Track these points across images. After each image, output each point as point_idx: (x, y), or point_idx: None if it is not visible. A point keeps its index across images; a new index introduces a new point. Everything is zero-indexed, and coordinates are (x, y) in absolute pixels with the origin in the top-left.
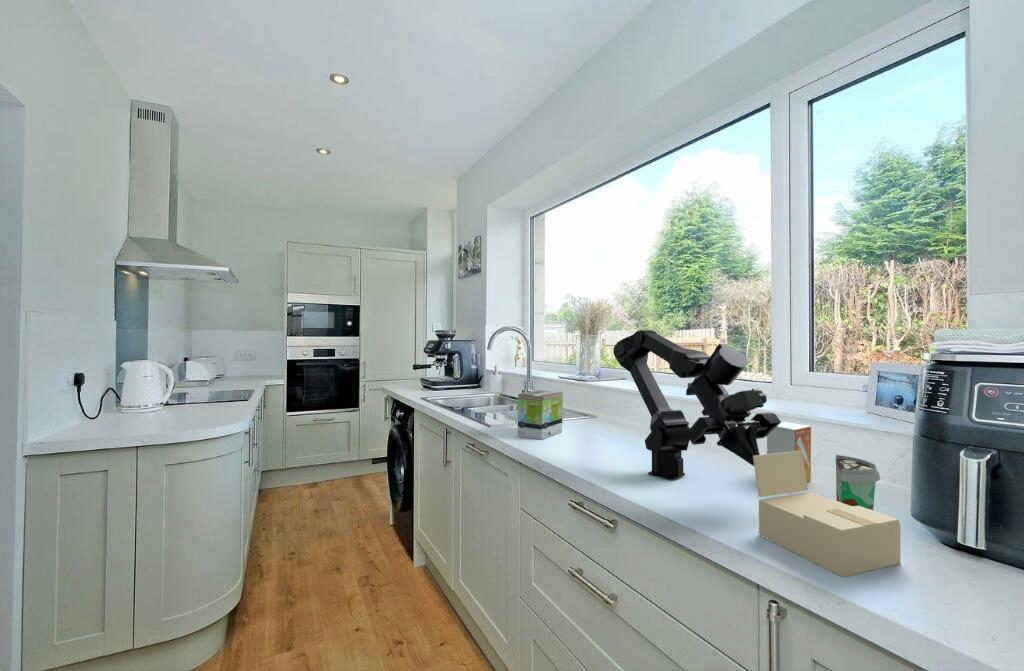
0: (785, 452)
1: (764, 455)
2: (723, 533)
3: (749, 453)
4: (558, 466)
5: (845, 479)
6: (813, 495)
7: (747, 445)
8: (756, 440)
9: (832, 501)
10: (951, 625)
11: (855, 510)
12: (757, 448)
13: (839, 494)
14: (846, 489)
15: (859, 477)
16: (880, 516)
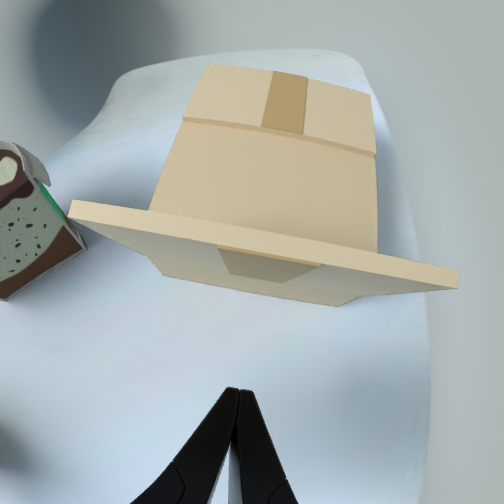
0: (199, 226)
1: (398, 259)
2: (398, 348)
3: (273, 454)
4: None
5: (46, 175)
6: None
7: (270, 493)
8: (138, 499)
9: (179, 169)
10: (329, 71)
11: (228, 107)
12: (186, 455)
13: (17, 257)
14: (50, 197)
15: (29, 152)
16: (221, 78)
